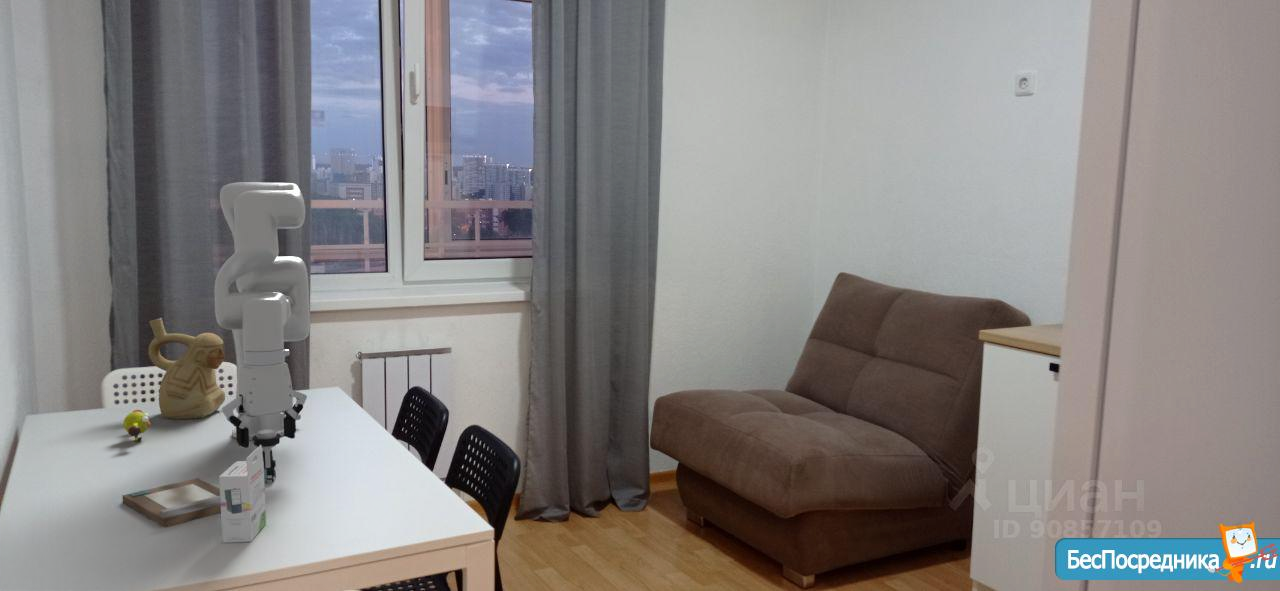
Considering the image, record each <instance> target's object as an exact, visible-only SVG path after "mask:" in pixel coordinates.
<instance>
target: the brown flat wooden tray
mask: <svg viewBox="0 0 1280 591" xmlns="http://www.w3.org/2000/svg"><path fill="white" fill-rule="evenodd" d="M122 504H124V505H125V506H127V507H129V508H130V509H132V510H134V511H136V512H137V513H139V514H141V515H143V516H144V517H146V518H147V519H149V520H151V521H152V522H154V523H156V524H158V525H160V526H161V527H163V528H166V527H170V526H174V525H178V524H181V523H185V522H189V521H193V520H196V519H199V518H204V517H207V516H208V517H209V516H212V515H215V514H219V513H220V514H221V502H220V487H217V486H215V485H213V484H211V483H209V482H206V481H204V480H203V479H200V478H199V477H198V478H197V477H196V478H193V479H188V480H183V481H179V482H175V483H170V484H166V485H162V486H157V487H152V488H148V489H145V490H138V491H135V492H129V493H126V494H122Z"/></svg>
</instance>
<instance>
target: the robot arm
mask: <svg viewBox="0 0 1280 591" xmlns="http://www.w3.org/2000/svg"><path fill="white" fill-rule="evenodd" d="M219 202H220V207H221V210H222V213H223V217H224V219H225V221H226V223H227V225H228V227H229V229H230V231H231V234H232V237H233V243H234V244H233V246H234V253H233V254H232V255H231V256H230V257H229V258H227V260H226V261H225V262H224V263H223V264H222V266H221V267H220V269H219V271H218V272H217V275H216V277H215V282H214V311H215V312H214V313H215V319H216V322H217V324H218V326H220V327H221V328H222V329H224V330H229V331H230V330H231V333H232V338H233V342H234V350H235V362H236V391H235V392H236V393H235V398H234V399H233V400H231V401H229V403H227V404H225V405H224V406H222V408H221V411H222V413H223V415H224V416H225V417H226V421H228V422H229V423H231V424H232V426H234V427H235V428H233V429H232V431H231V436H232V438H234V439H236V443H237V444H238V446H239V447H242V448H244V449H247V448H249V447H250V441H253V440H252V437H253V436H255V435H257V432H258V431H260V430H266V429H272V430H275V431H276V433H278V434H280V435H281V437H282V436H284V437H285V438H289V439H295V438H296V435H295V434H296V432H297V427H296V426H297V425H296V424H297V423H296V421H299V420H301V417H302V415H301V412H302V411H303V409H304V405H305V403H306V400H307V398H308V397H307V395H306V394H304V393H302V392H300V391H297V390H294V389H293V385H292V377H291V373H290V369H289V365H288V363H287V362H285V361H286V357H289V356H290V354H291V352H290V350H289V349H285V344H284V342H299V341H302V340H305V339H307V337H308V336H309V334H310V330H311V329H310V328H311V316H310V314H311V312H310V310H311V309H310V291H309V290H310V288H309V287H310V286H309V275H308V274H309V273H308V270H307V265H306V263H305V261H304V260H303V259H302V258H300V257H298V256H292V255H291V256H288V255H287V256H282V255H281V256H279V253H280V251H279V250H280V248H279V240H278V239H279V236H278V229H298V228H301V227H302V226H303V225H304V223H305V219H306V206H305V199H304V197H303V193H302V192H301V189H300V187H299V186H298V185H297V184H296V183H292V182H263V181H262V182H260V181H259V182H258V181H245V182H244V181H243V182H241V181H240V182H232V183H231V182H230V183H228V184H226V185H223V186H222V187H221V189H220V191H219ZM234 282H235V284H236V288H237V291H238V292H230V287H231V285H232V284H233V283H234ZM294 398H295V399H296V401H295V403H294ZM293 403H294V404H293ZM234 410H236V413H237V414H238V415H237V416H235V414H234Z"/></svg>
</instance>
